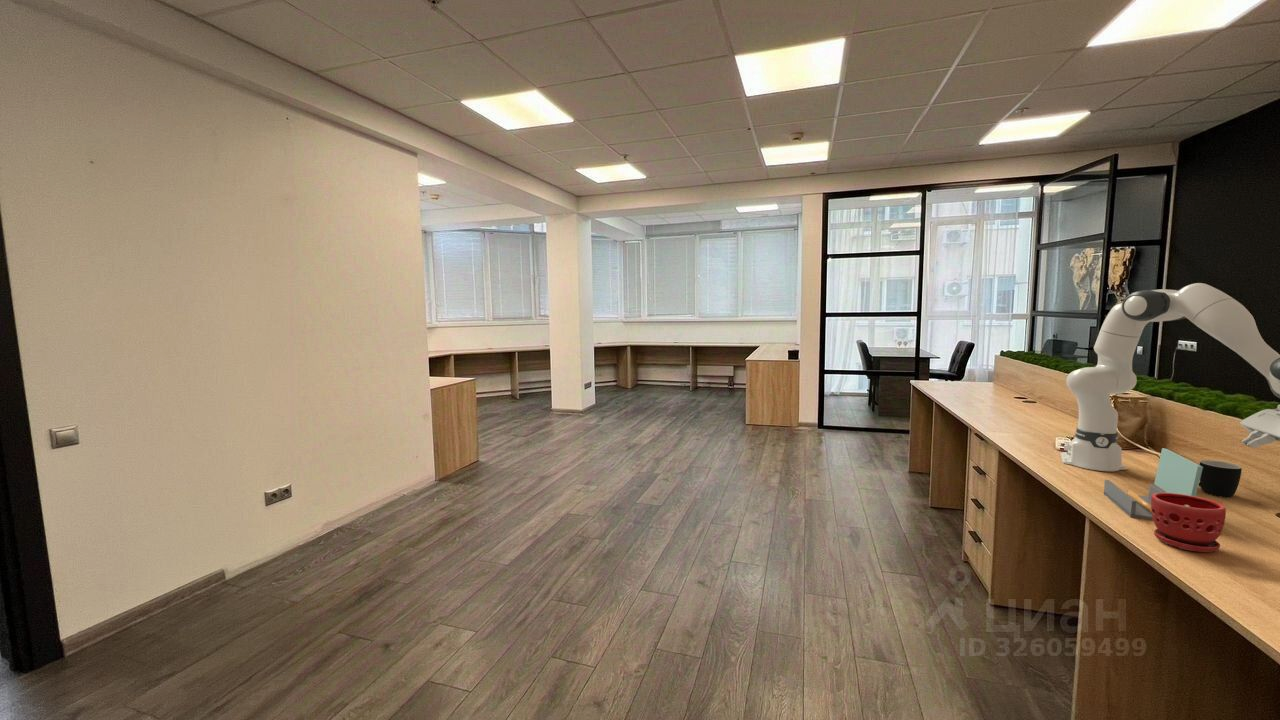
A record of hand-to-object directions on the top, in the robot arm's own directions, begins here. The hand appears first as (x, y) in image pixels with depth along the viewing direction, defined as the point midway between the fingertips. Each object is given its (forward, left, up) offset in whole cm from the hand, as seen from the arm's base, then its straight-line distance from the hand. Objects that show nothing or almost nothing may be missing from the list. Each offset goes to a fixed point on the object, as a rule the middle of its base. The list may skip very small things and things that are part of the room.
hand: (1247, 445), depth 141 cm
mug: (-26, +5, -23) cm, 35 cm away
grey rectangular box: (0, -21, -22) cm, 31 cm away
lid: (0, -14, -11) cm, 18 cm away
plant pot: (+26, -22, -23) cm, 41 cm away
